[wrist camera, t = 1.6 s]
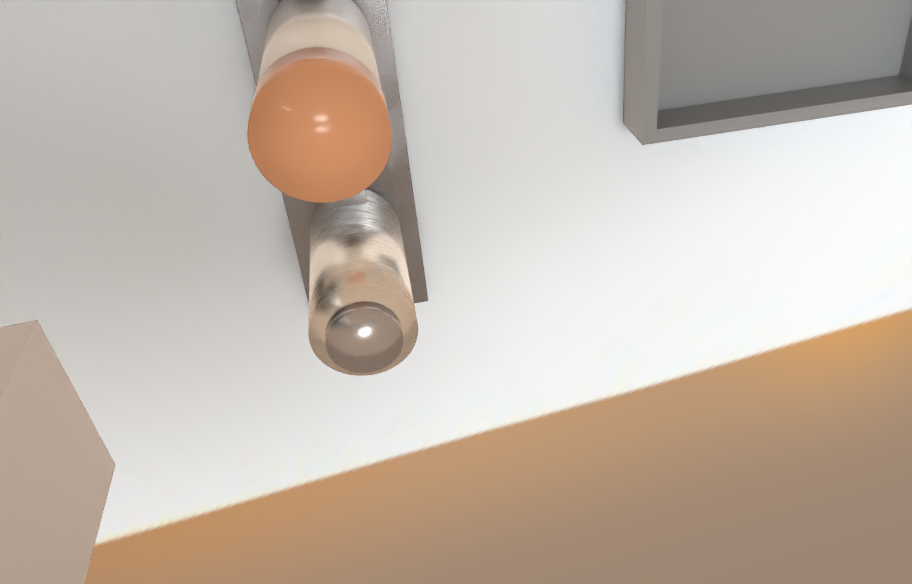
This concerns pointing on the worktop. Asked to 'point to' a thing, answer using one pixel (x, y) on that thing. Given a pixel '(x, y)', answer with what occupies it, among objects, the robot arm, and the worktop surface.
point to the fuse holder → (357, 233)
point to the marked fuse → (319, 103)
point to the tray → (760, 63)
